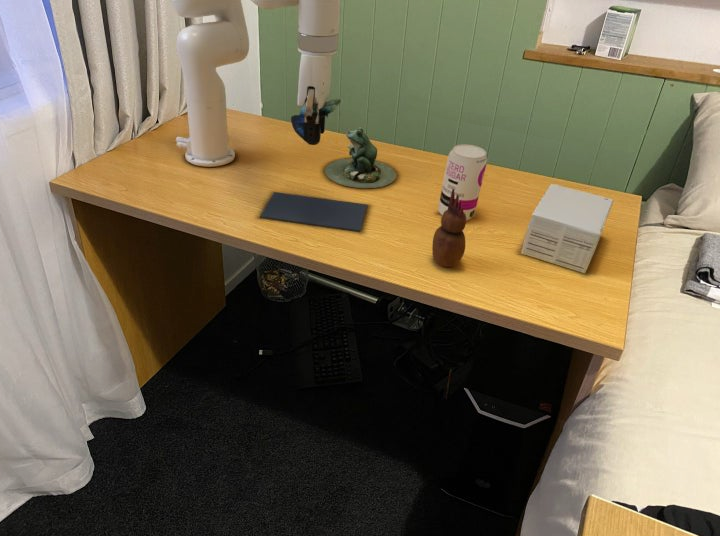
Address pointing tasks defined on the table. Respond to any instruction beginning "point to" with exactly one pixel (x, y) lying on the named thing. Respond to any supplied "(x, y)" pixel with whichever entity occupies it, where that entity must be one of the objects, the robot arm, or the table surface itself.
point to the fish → (324, 111)
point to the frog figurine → (360, 165)
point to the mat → (315, 211)
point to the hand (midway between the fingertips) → (314, 136)
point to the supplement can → (463, 178)
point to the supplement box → (566, 227)
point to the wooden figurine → (450, 235)
